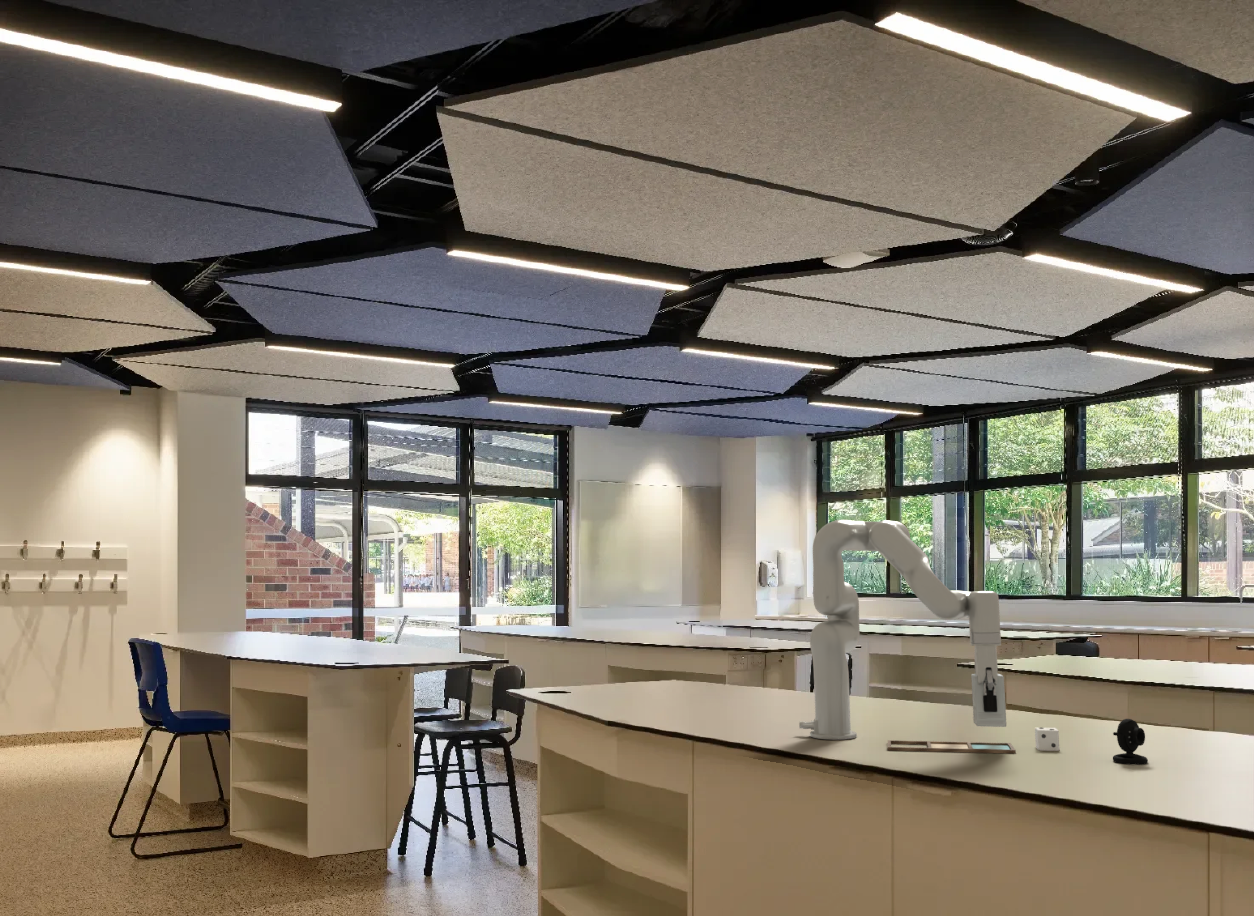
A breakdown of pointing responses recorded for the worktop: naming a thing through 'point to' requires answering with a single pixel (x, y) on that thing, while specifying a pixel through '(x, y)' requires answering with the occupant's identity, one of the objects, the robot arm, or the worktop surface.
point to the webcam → (1129, 742)
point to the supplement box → (978, 707)
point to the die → (1047, 739)
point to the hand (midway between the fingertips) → (989, 709)
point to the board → (954, 746)
